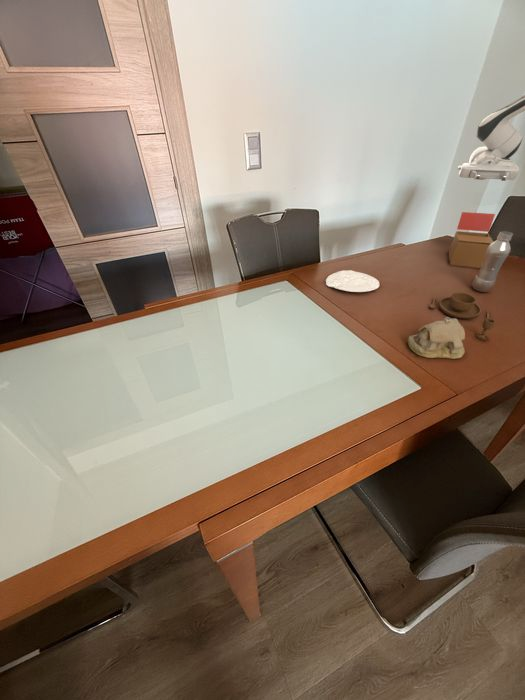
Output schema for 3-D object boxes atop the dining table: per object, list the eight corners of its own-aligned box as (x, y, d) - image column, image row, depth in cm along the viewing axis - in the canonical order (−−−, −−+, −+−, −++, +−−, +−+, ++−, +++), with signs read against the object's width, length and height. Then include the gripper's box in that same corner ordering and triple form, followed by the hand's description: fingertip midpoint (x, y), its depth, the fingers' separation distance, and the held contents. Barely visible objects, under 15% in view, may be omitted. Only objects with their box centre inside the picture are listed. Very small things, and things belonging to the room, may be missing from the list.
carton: (448, 252, 135) (456, 229, 129) (479, 255, 131) (489, 231, 125) (449, 264, 125) (458, 240, 119) (482, 268, 122) (493, 243, 115)
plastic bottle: (472, 293, 107) (498, 236, 94) (467, 284, 112) (491, 229, 99) (493, 295, 105) (522, 237, 93) (487, 286, 110) (513, 230, 98)
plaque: (357, 300, 106) (358, 296, 105) (315, 282, 118) (315, 279, 117) (389, 283, 116) (390, 279, 115) (347, 268, 128) (348, 265, 127)
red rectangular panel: (457, 229, 129) (456, 229, 129) (489, 231, 125) (488, 231, 125) (462, 212, 126) (462, 212, 126) (495, 214, 122) (494, 214, 123)
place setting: (490, 308, 99) (498, 292, 95) (489, 341, 86) (498, 324, 82) (432, 296, 106) (437, 281, 103) (422, 325, 93) (428, 309, 90)
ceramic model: (445, 333, 90) (458, 304, 84) (471, 357, 81) (487, 327, 75) (401, 339, 89) (410, 310, 82) (422, 364, 80) (434, 334, 74)
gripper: (460, 157, 126) (464, 167, 117) (517, 159, 121) (525, 170, 112) (454, 174, 131) (457, 185, 122) (508, 176, 126) (516, 188, 117)
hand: (490, 177), depth 117 cm, fingers open, 8 cm apart
